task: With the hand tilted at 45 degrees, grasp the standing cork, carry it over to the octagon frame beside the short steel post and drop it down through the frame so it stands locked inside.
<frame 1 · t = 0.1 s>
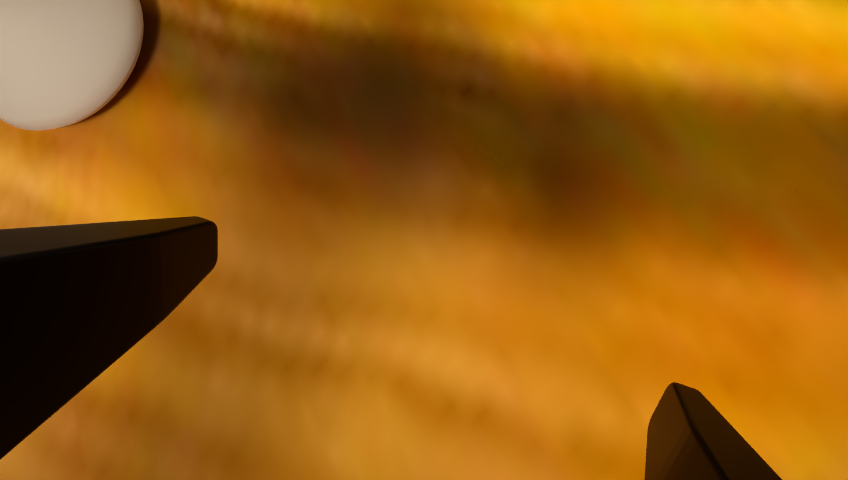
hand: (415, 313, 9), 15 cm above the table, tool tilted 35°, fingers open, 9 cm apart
flower in vase: (77, 68, 31), on the table
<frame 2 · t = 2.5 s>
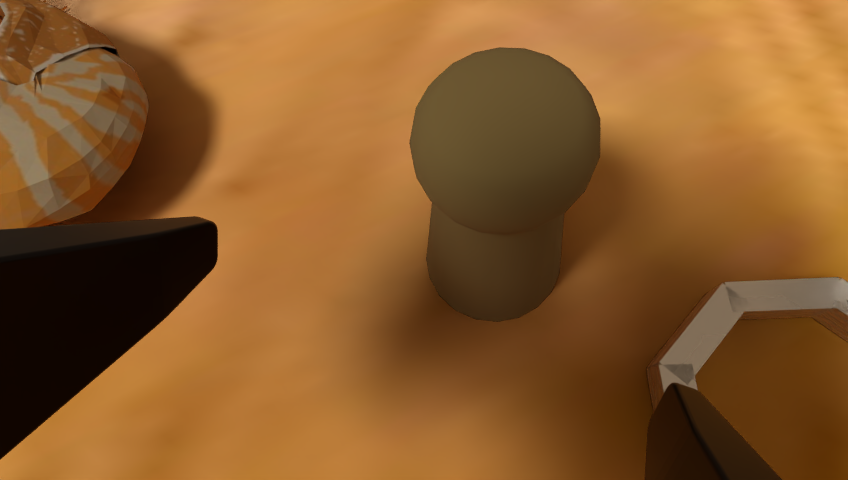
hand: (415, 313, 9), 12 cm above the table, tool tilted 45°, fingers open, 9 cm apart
nautilus: (59, 110, 28), on the table
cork: (492, 257, 22), on the table
octagon frame: (798, 422, 19), on the table
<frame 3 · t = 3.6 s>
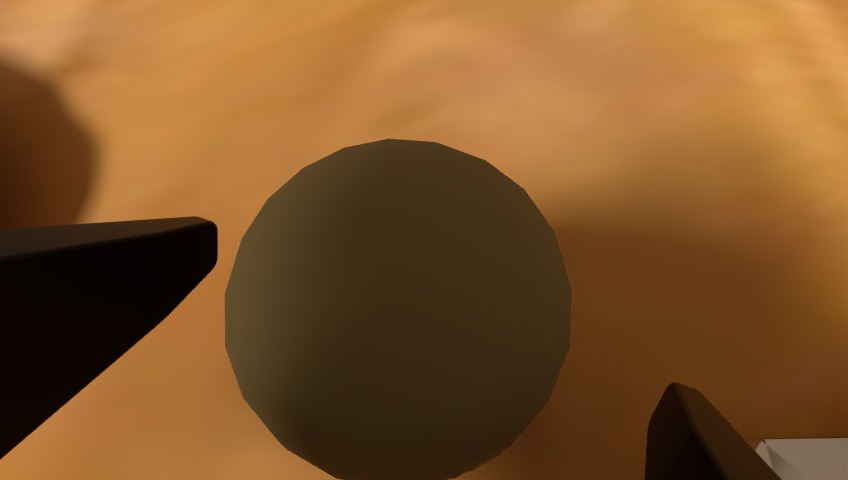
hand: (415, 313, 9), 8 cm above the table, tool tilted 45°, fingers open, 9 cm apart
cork: (440, 375, 16), on the table
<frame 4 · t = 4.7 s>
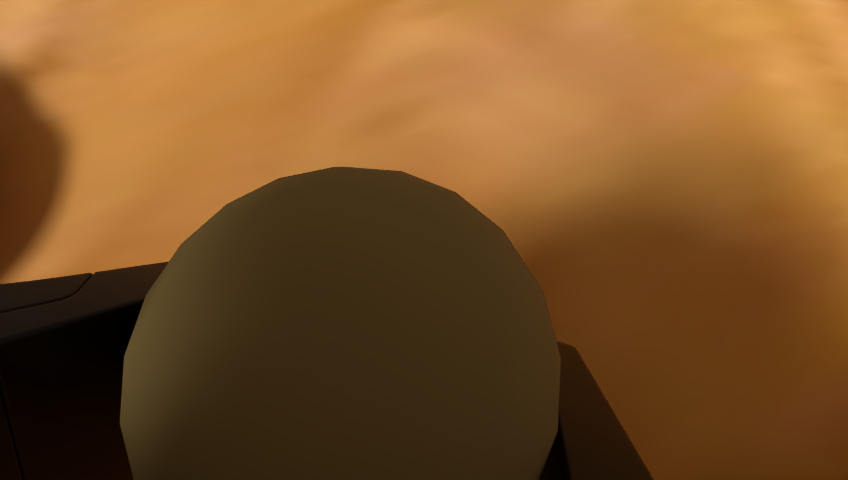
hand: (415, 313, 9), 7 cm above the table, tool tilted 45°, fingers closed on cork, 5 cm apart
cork: (424, 407, 15), on the table, touching gripper
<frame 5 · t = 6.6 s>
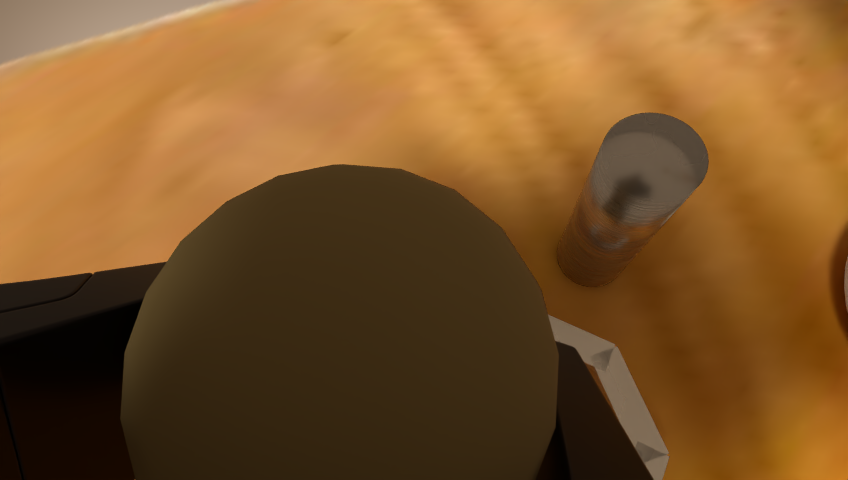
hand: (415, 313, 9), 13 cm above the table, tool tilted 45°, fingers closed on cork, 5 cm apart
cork: (423, 404, 15), point 6 cm above the table, touching gripper
octagon frame: (514, 442, 20), on the table
when the fingers open (8 cm above the table, at t = 8.4 s): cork drops 2 cm, resting in octagon frame.
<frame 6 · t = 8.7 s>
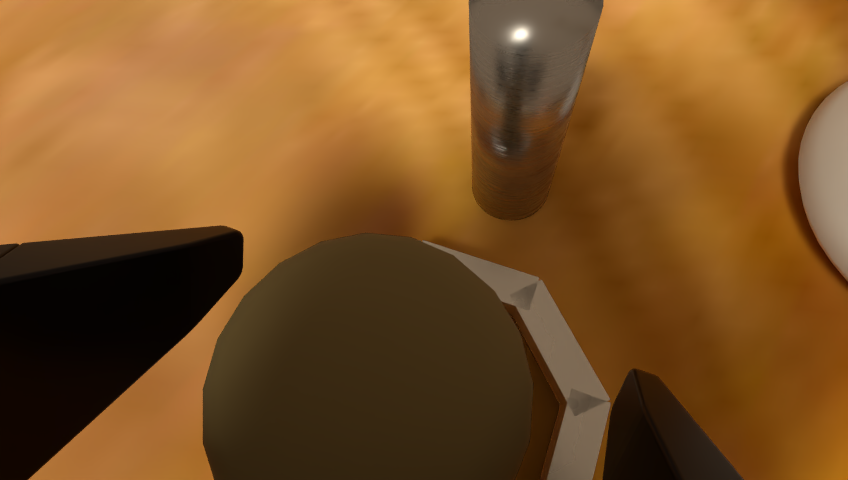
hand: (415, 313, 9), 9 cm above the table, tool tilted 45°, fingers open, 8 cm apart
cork: (425, 413, 17), resting in octagon frame
octagon frame: (430, 409, 17), on the table
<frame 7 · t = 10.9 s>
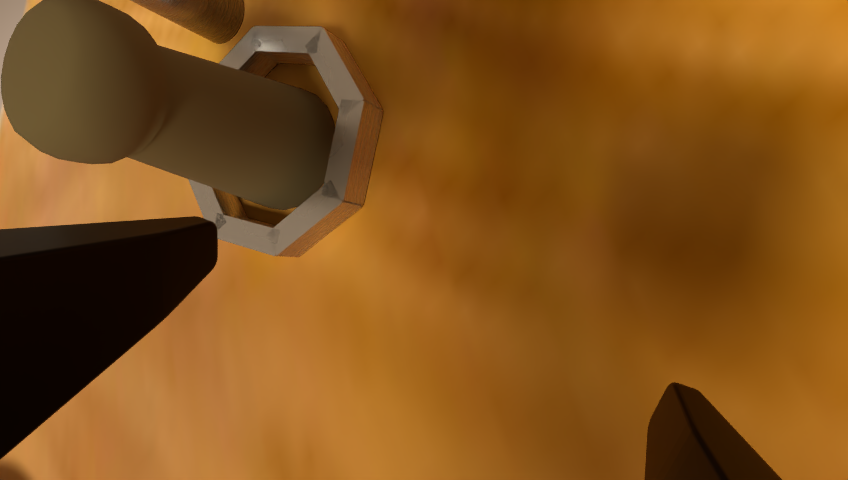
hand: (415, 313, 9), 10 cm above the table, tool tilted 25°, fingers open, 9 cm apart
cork: (289, 150, 24), resting in octagon frame
octagon frame: (286, 144, 24), on the table
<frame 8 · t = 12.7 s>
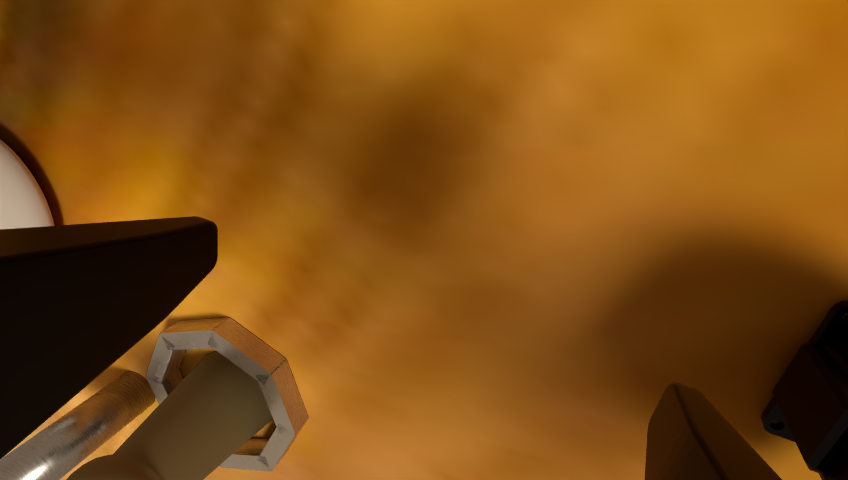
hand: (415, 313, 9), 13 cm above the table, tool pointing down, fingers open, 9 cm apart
flower in vase: (22, 209, 33), on the table
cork: (237, 388, 32), resting in octagon frame
octagon frame: (232, 388, 32), on the table
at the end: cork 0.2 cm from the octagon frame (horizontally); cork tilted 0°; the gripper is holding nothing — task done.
